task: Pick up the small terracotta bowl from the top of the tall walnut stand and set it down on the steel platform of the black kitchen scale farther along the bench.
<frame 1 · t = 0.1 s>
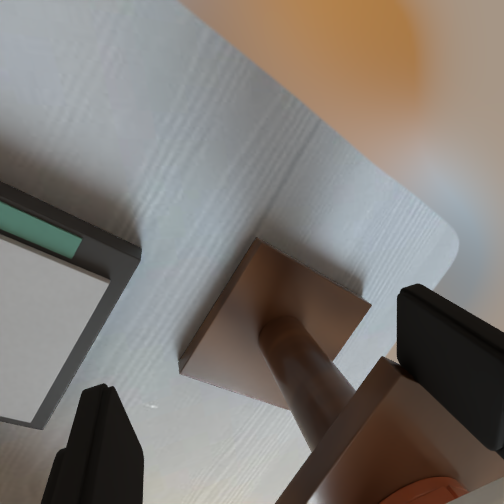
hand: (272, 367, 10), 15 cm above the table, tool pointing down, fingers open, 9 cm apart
stand: (275, 328, 28), on the table
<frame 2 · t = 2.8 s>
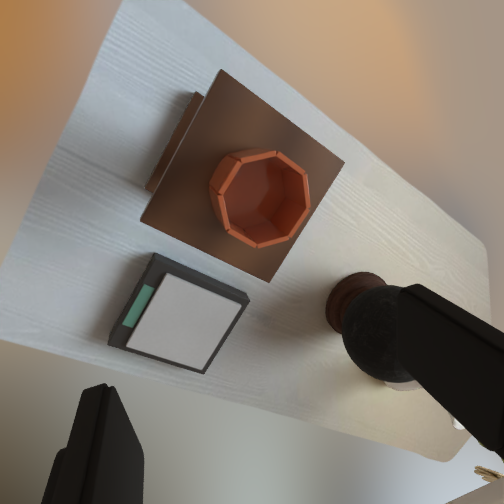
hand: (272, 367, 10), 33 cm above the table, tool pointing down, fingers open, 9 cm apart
scale: (180, 312, 45), on the table
stand: (214, 168, 40), on the table
black orb ornament: (356, 302, 54), on the table
bowl: (248, 190, 25), point 16 cm above the table, touching stand
flower in vase: (403, 360, 61), on the table
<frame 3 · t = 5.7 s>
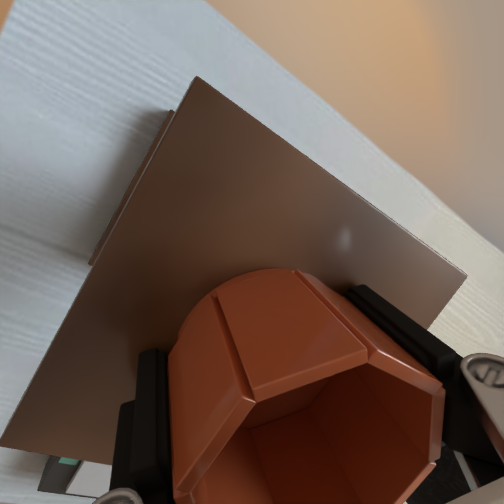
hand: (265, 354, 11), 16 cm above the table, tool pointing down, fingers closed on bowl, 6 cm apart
scale: (152, 426, 31), on the table
stand: (202, 225, 26), on the table
black orb ornament: (398, 392, 39), on the table
bowl: (263, 350, 11), point 16 cm above the table, touching gripper, stand
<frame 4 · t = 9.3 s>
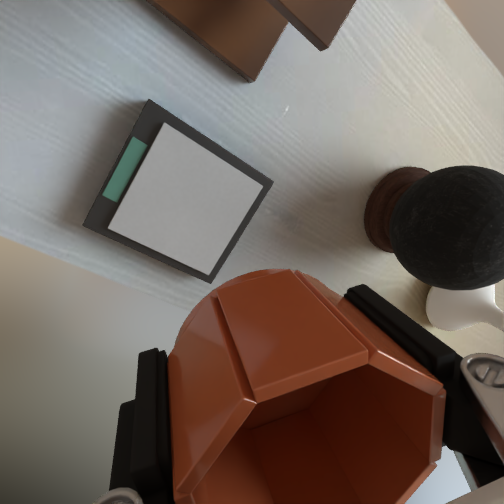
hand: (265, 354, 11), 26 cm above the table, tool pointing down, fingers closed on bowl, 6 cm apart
scale: (181, 197, 34), on the table
black orb ornament: (400, 210, 43), on the table
bowl: (264, 350, 11), point 26 cm above the table, touching gripper
flower in vase: (449, 295, 51), on the table
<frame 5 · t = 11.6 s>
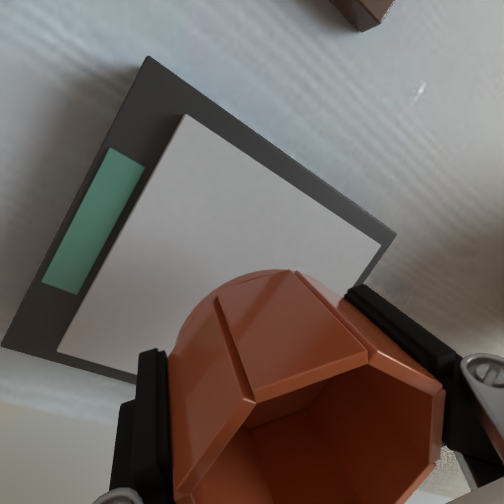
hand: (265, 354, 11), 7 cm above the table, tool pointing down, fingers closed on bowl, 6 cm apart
scale: (213, 264, 17), on the table
bowl: (264, 350, 11), point 7 cm above the table, touching gripper
when the fingers open (3 cm above the table, at t = 13.2 s): bowl stays where it is, resting on scale.
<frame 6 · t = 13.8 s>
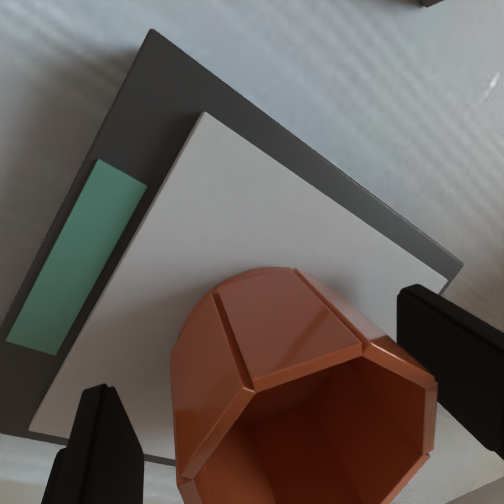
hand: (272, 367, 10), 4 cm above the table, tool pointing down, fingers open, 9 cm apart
scale: (232, 301, 14), on the table
bowl: (263, 346, 11), point 3 cm above the table, touching scale
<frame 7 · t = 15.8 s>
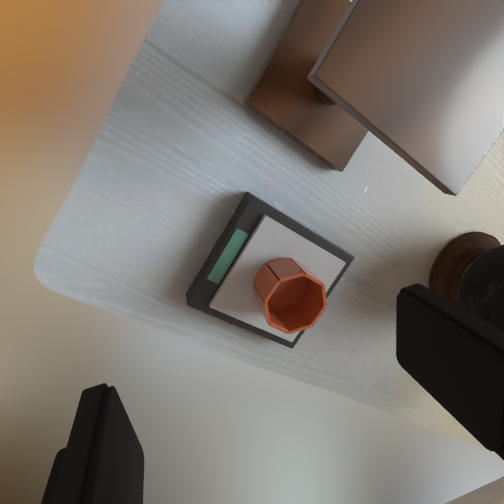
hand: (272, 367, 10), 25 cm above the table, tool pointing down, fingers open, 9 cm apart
scale: (268, 271, 37), on the table
stand: (325, 84, 32), on the table
black orb ornament: (463, 270, 45), on the table
bowl: (280, 284, 35), point 3 cm above the table, touching scale
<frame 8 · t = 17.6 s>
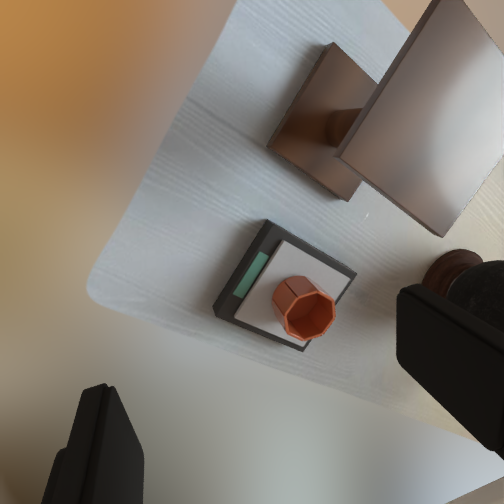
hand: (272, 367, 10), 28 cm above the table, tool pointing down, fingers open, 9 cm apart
scale: (282, 286, 43), on the table
stand: (335, 129, 38), on the table
black orb ornament: (449, 282, 51), on the table
bowl: (295, 297, 41), point 3 cm above the table, touching scale
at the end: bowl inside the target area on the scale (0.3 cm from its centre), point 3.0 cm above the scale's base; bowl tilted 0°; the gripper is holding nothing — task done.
